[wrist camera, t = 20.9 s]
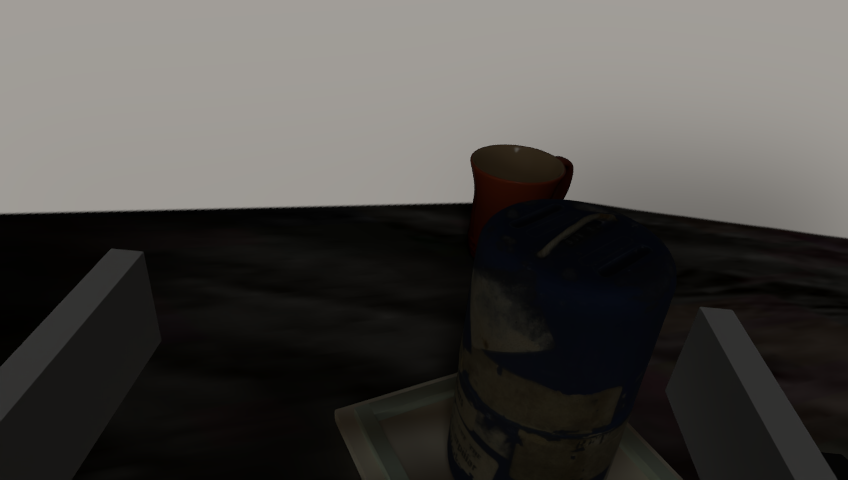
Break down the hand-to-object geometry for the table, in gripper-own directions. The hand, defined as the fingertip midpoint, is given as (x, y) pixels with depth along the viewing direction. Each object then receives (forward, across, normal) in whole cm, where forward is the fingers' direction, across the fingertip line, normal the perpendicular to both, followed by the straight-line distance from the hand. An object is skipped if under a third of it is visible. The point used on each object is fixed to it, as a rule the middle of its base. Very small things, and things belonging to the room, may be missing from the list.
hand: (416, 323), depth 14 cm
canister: (+13, +7, -22) cm, 26 cm away
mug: (+40, +9, -23) cm, 47 cm away
